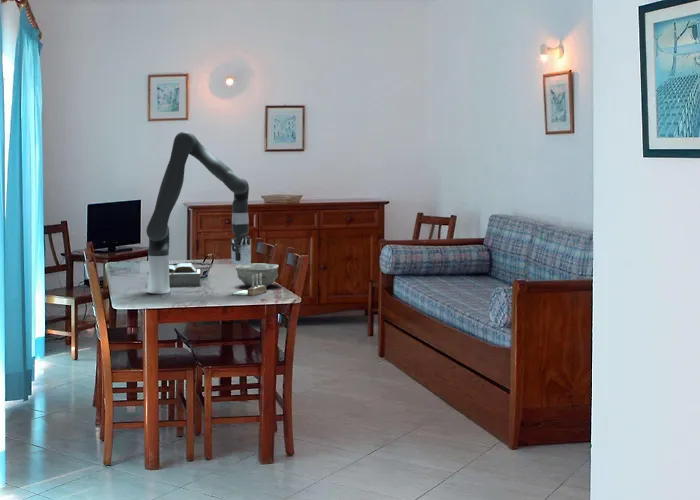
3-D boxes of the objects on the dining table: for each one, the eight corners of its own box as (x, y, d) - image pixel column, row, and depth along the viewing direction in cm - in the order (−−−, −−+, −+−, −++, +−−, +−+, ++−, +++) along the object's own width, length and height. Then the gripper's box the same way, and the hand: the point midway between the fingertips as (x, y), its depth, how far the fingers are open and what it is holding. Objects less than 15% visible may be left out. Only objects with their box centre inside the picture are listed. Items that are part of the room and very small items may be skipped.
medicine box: (251, 264, 412) (250, 245, 411) (244, 265, 408) (244, 246, 407) (237, 263, 416) (237, 244, 415) (231, 264, 412) (230, 245, 411)
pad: (232, 294, 410) (232, 293, 410) (243, 290, 419) (243, 290, 419) (247, 295, 407) (247, 294, 407) (258, 291, 416) (258, 291, 416)
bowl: (237, 290, 421) (237, 269, 420) (233, 284, 441) (233, 263, 440) (281, 288, 425) (281, 267, 424) (276, 282, 445) (276, 262, 444)
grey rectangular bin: (198, 288, 429) (198, 267, 428) (142, 288, 430) (141, 268, 429) (207, 281, 453) (206, 261, 452) (153, 281, 453) (153, 261, 452)
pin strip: (247, 295, 406) (247, 275, 405) (260, 291, 416) (260, 272, 416) (253, 296, 404) (253, 276, 403) (266, 292, 415) (266, 272, 414)
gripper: (241, 221, 418) (241, 257, 420) (225, 223, 405) (225, 261, 407) (255, 221, 415) (255, 258, 417) (239, 224, 402) (240, 262, 404)
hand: (240, 259), depth 412 cm, fingers closed on medicine box, 5 cm apart
